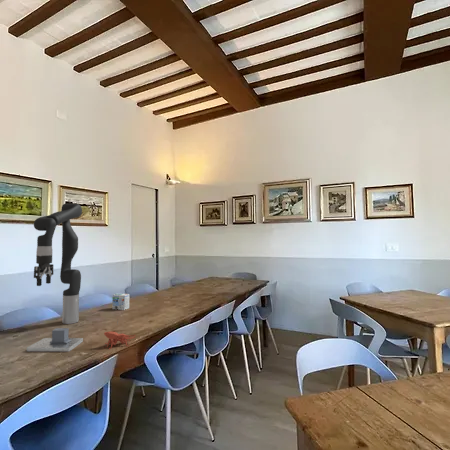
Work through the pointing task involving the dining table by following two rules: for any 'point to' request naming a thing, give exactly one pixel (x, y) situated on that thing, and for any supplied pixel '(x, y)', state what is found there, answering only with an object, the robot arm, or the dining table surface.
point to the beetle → (117, 338)
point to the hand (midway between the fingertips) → (43, 284)
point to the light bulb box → (120, 301)
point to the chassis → (46, 346)
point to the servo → (60, 336)
